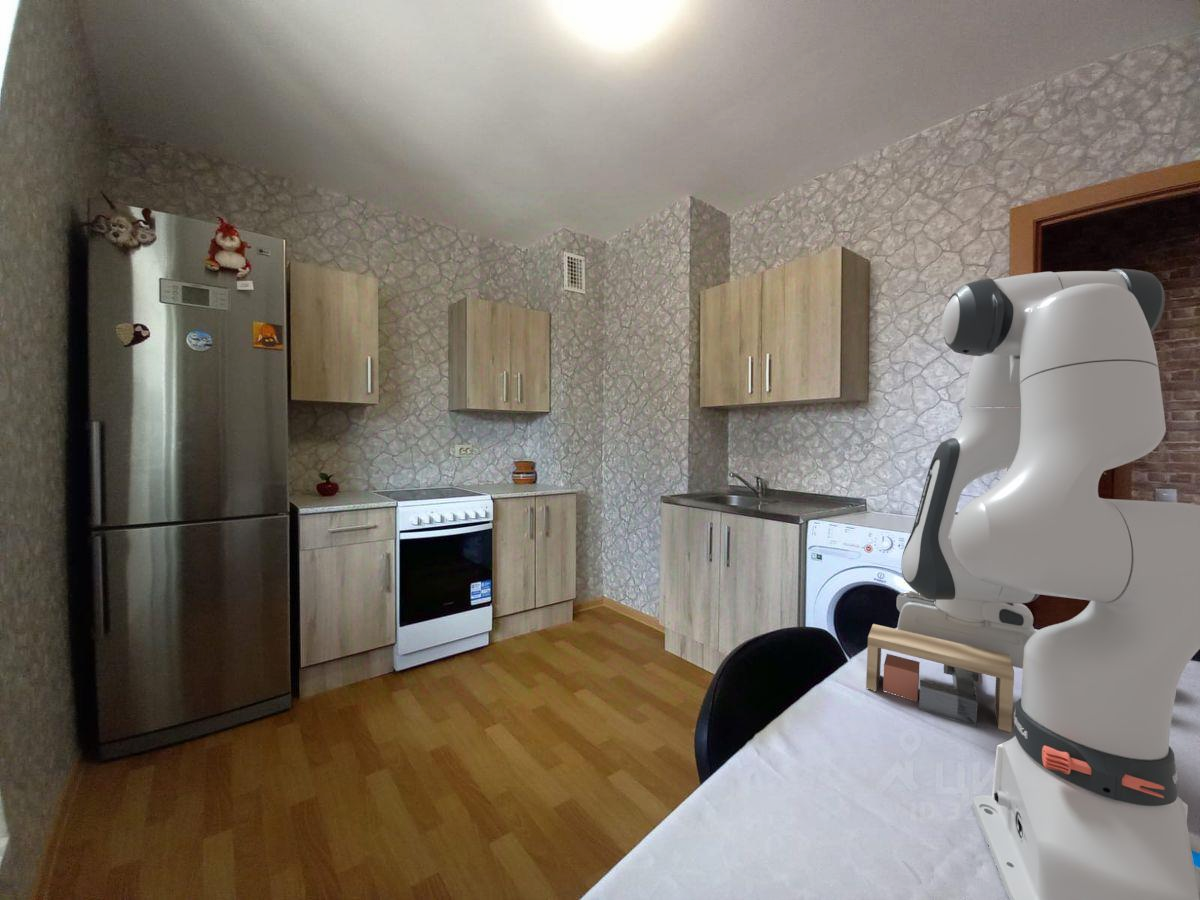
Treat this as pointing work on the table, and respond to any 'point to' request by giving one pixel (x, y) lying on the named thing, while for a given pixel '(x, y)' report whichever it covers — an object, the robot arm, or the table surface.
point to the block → (901, 676)
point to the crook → (951, 698)
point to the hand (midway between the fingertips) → (962, 676)
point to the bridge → (945, 662)
